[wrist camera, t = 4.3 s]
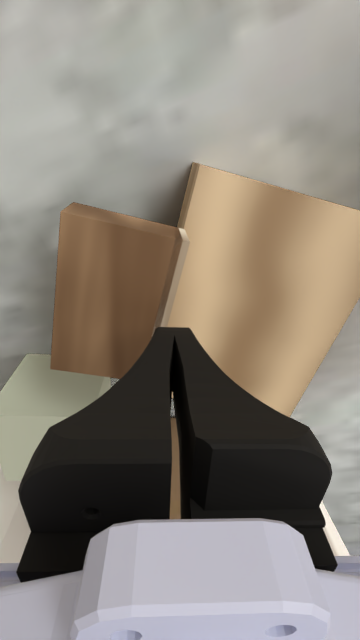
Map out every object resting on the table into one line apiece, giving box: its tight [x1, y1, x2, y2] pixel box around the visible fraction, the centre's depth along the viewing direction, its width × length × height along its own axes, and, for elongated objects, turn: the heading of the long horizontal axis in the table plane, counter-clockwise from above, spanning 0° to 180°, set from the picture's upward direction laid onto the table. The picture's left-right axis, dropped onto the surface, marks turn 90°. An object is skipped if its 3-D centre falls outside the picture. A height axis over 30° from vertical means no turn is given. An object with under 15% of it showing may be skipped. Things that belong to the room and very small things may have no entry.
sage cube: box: [0, 354, 111, 481], centre depth 21 cm, size 6×6×6 cm
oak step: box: [167, 162, 360, 417], centre depth 18 cm, size 10×13×4 cm
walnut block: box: [50, 202, 190, 379], centre depth 14 cm, size 2×8×5 cm
